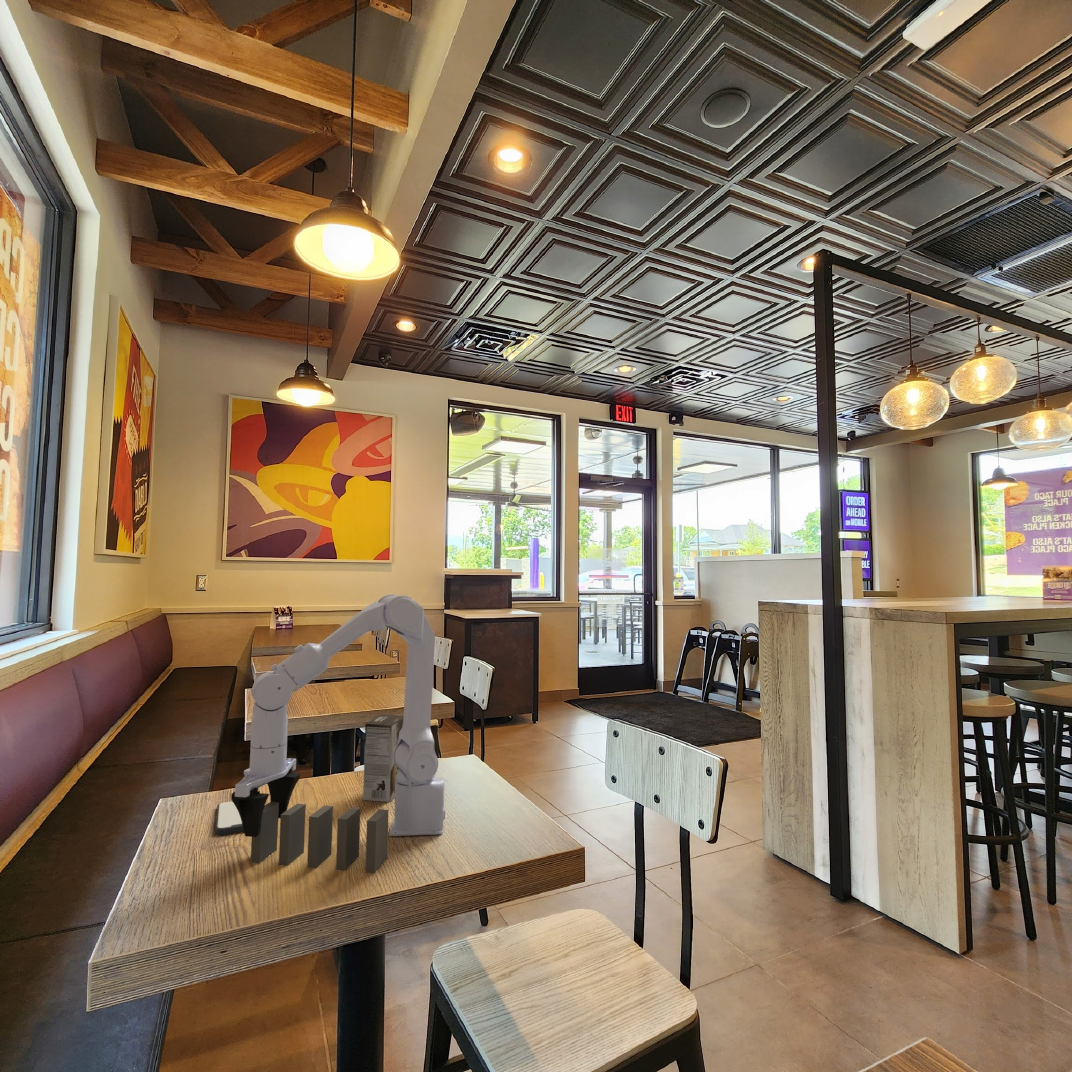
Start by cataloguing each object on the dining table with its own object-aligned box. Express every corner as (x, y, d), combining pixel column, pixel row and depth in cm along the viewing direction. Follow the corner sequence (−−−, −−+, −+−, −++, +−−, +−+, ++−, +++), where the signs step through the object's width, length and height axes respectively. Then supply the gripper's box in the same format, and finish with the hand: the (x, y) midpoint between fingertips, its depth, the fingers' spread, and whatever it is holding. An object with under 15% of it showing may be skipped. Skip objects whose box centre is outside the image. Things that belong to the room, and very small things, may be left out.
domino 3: (359, 856, 101) (360, 807, 101) (345, 870, 96) (346, 819, 96) (350, 856, 101) (351, 807, 102) (336, 870, 96) (337, 818, 97)
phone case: (216, 810, 122) (214, 839, 108) (216, 802, 122) (214, 829, 108) (263, 804, 126) (267, 830, 112) (264, 796, 126) (267, 821, 112)
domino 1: (304, 852, 102) (305, 804, 103) (287, 865, 97) (289, 815, 98) (295, 851, 102) (297, 803, 103) (278, 865, 98) (280, 814, 98)
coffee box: (378, 786, 136) (380, 713, 137) (405, 787, 135) (407, 714, 136) (361, 800, 127) (363, 723, 128) (390, 802, 126) (392, 724, 127)
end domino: (277, 850, 103) (279, 802, 104) (259, 863, 98) (261, 813, 99) (268, 849, 103) (270, 801, 104) (250, 862, 98) (252, 812, 99)
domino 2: (331, 854, 102) (333, 806, 102) (316, 868, 97) (318, 817, 97) (322, 853, 102) (324, 805, 102) (307, 867, 97) (309, 816, 97)
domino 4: (387, 859, 100) (388, 809, 101) (374, 873, 95) (376, 821, 96) (378, 858, 100) (379, 809, 101) (365, 872, 95) (366, 820, 96)
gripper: (272, 732, 110) (269, 808, 109) (219, 755, 96) (215, 842, 95) (307, 734, 109) (305, 811, 108) (259, 757, 95) (255, 846, 93)
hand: (265, 826), depth 101 cm, fingers open, 7 cm apart
